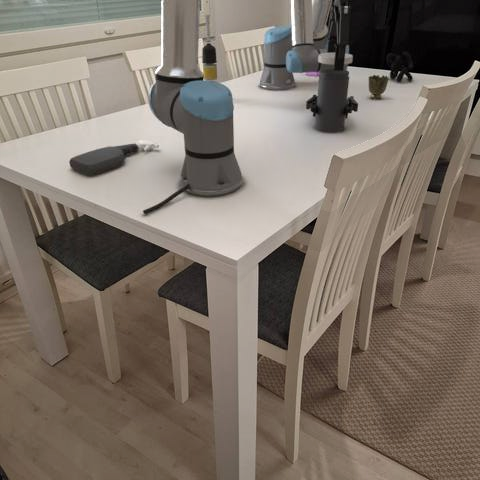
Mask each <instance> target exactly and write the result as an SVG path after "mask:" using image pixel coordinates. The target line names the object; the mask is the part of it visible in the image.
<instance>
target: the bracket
mask: <svg viewBox="0 0 480 480" xmlns="http://www.w3.org/2000/svg"><path fill="white" fill-rule="evenodd" d="M305 75H308V76H312V77H313V76H314V77H315V76H316V77H317V76H320V72H306V73H305Z"/></svg>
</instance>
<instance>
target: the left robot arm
mask: <svg viewBox="0 0 480 480" xmlns="http://www.w3.org/2000/svg"><path fill="white" fill-rule="evenodd" d="M348 2H349V0H334V1H333V2H332V3H331V7H330V11H329V19H328V25H327V28H328V32H327V38H328V49H327V53H335V61H334V71H343V69H344V60H345V50H346V46H347V45H349V44H350V41H349V40H350V19H351V9H352V7H351V5H348V4H349V3H348ZM200 8H201V0H161V64H160V66H158V67H157V68H156V70H155V81H154V83H153V84H152V85H151V86H150V88H149V90H148V105H149V109H150V111H151V114H153V116H154V117H155V118H156V119H157V120H158V121H159V122H161V123H162V124H163V125H164V126H167V127H169V128H171V129H173V130H175V131H177V132H179V133H181V134H183V143H184V154H185V155H184V158H183V164H182V168H181V171H180V177H179V178H180V179H179V183H180V184H179V185H180V188H179V189H178V190H176V191H175V192H174V193H172V194H170V195H169V196H168V197H167V198H165V199H164V200H162V201H160V202H158V203H157V204H155V205H152V206H150V207H148V208H146V209H143V210H142V213H143V214H144V215H147V214H149V213H152V212H153V211H156V210H158V209H160V208H162V207H164V206H166V205H167V204H169V203H170V202H172V200H174V199H175V198H177V197H178V196H180V195H181V194H182V193H184V192H186V193H187V194H190V195H194V196H199V197H221V196H224V195H229V194H232V193H234V192H235V191H237V190H239V189H240V188H241V187H242V185H243V174H242V171H241V168H240V165H239V163H238V160H237V157H236V154H235V132H234V131H235V130H234V127H235V126H234V110H235V106H234V100H233V98H234V97H233V94H232V91H231V89H230V88H229V87H227V86H226V85H225V84H223V83H221V82H218V81H215V82H210V81H208V80H204V74H203V71H201V69H200V68H199V66H198V65H199V43H200V42H199V41H200V40H199V39H200V38H199V37H200V13H201V12H200Z"/></svg>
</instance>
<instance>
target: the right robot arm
mask: <svg viewBox="0 0 480 480" xmlns="http://www.w3.org/2000/svg"><path fill="white" fill-rule="evenodd" d="M331 3H333V0H289V9H290V25H285V26H283V25H281V26H276V27H272V28H269V29H267V30H266V31H265V33H264V41H263V45H264V46H263V70H262V73H261V77H260V80H259V87H260V88H261V89H264V90H269V91H285V90H290V89H291V90H292V89H294V87H295V86H296V81H295V76H294V74H302V73H303V74H304V73H305V74H306V72H321V70H324V69H334V65H331V64H323V63H320V62H318V57H319V54H322V53H327V49H328V38H327V32H328V25H327V22H328V18H329V15H330V11H331ZM345 53H347V54H350V45H349V44H348V45H347V46H346V50H345ZM348 65H349V64H344V69H343V70H347V71H348ZM317 97H318V94H313V95H312V97H310V98H308V100H306V102H305V109H306V110H310V113H312V117H313V118H314V117H315V118H316V111H317ZM358 109H359V102H358V101H357V100H355V97H354V96H353V95H350V96H347V103H346V112H345V119H349V114H352V113H353V112H355V113H356V112H358Z"/></svg>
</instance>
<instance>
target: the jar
mask: <svg viewBox="0 0 480 480" xmlns="http://www.w3.org/2000/svg"><path fill="white" fill-rule="evenodd" d="M349 75H350V72H349V70H348V69H347V70H343V71H334V69H324V70H321V72H320V75H318V84H317V85H318V86H317V96H318V97H317V111H316V116H315V125H314V128H315V130H316V131H318V132H321V133H327V134H333V133H340V132H343V131H344V129H345V122H346V121H345V120H346V118H345V112H346V103H347V98H348V93H349V86H350V85H349V84H350V76H349Z"/></svg>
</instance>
